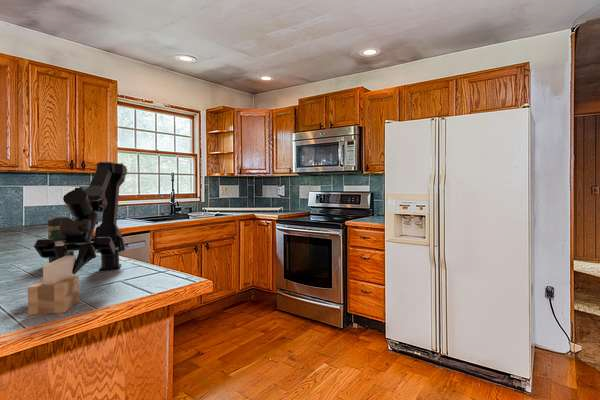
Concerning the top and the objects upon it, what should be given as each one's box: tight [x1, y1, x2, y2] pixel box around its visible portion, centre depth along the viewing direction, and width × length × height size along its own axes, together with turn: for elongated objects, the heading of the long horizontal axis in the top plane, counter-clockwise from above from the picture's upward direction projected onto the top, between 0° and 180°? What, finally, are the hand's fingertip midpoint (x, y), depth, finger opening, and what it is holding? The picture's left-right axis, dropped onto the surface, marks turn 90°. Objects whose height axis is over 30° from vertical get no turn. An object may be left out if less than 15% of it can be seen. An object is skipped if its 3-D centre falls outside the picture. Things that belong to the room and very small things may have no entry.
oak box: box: [27, 275, 80, 316], centre depth 85 cm, size 8×7×6 cm
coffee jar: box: [47, 215, 75, 263], centre depth 131 cm, size 10×8×19 cm
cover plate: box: [42, 254, 77, 285], centre depth 88 cm, size 12×2×11 cm, turn 12°
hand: (67, 273), depth 91 cm, fingers closed on cover plate, 2 cm apart
